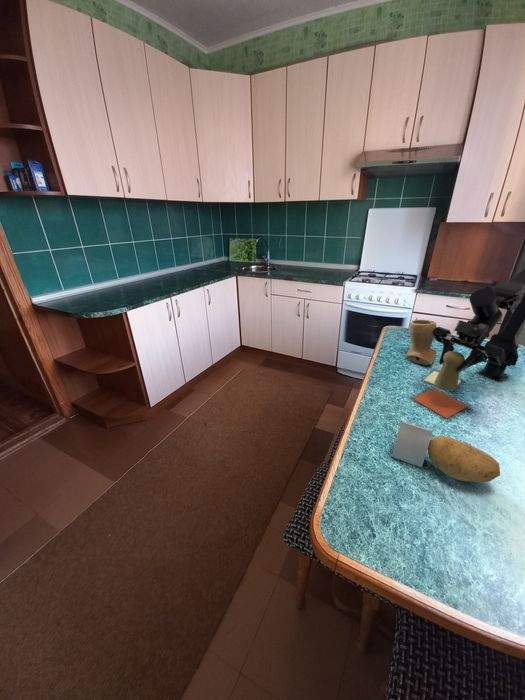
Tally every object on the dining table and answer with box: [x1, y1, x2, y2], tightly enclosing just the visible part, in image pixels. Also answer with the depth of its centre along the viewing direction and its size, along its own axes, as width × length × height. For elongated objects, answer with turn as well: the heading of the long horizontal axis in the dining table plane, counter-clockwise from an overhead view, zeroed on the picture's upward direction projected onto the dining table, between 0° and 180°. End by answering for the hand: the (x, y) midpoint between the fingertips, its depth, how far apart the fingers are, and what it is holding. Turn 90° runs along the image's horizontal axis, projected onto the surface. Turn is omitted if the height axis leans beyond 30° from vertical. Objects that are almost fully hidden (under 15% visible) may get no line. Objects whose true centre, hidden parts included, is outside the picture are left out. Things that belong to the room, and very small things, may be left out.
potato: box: [427, 434, 501, 483], centre depth 66 cm, size 10×14×8 cm
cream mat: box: [423, 370, 462, 393], centre depth 102 cm, size 9×9×1 cm
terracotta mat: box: [412, 387, 468, 420], centre depth 91 cm, size 11×11×1 cm
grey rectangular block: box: [391, 420, 433, 468], centre depth 70 cm, size 4×7×10 cm, turn 59°
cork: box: [434, 350, 466, 392], centre depth 86 cm, size 6×6×11 cm
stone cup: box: [405, 319, 438, 366], centre depth 114 cm, size 15×12×15 cm
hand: (448, 367), depth 85 cm, fingers closed on cork, 5 cm apart
